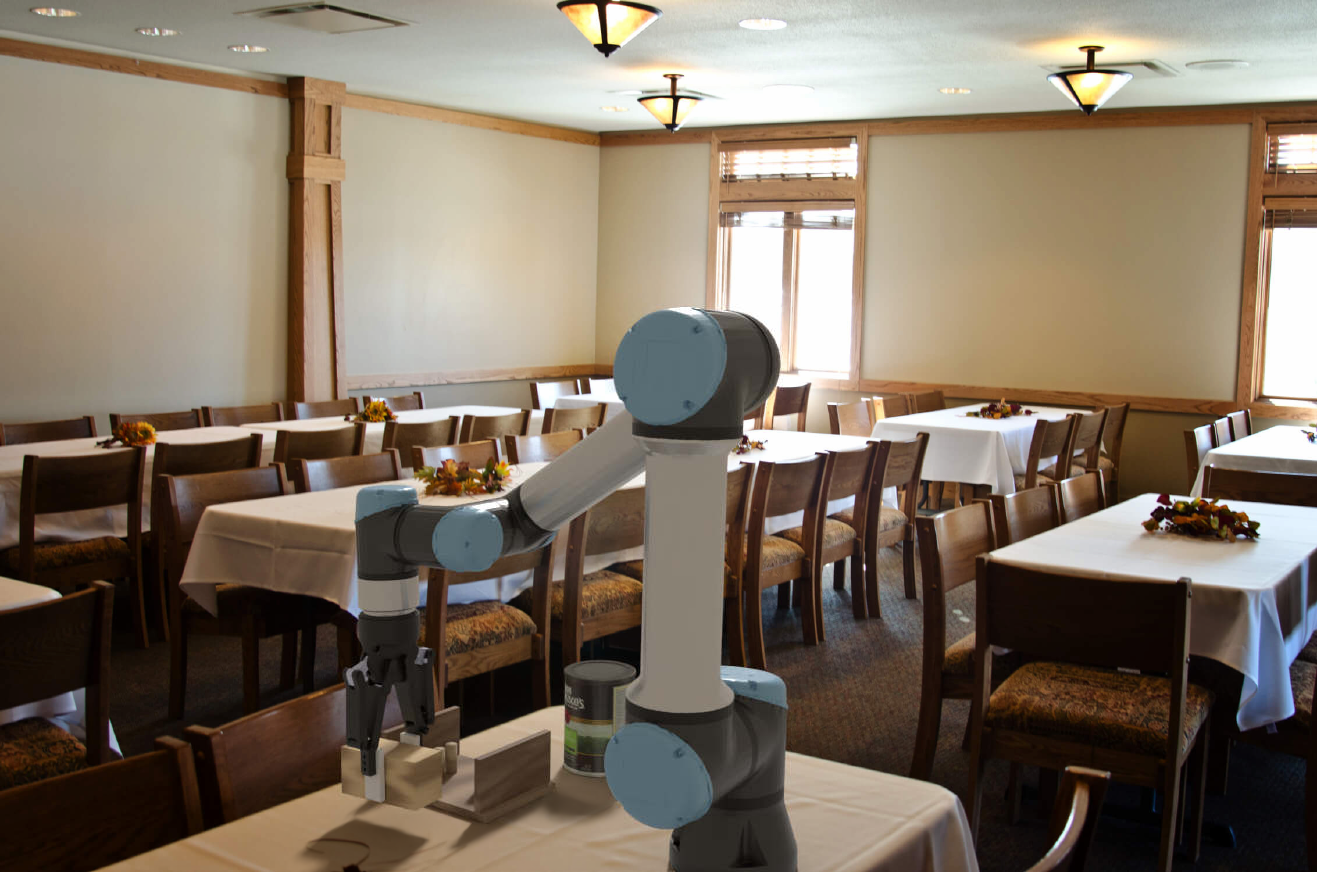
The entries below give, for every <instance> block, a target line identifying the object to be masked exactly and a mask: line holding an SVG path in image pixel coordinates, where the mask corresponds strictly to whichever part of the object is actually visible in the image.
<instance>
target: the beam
mask: <svg viewBox="0 0 1317 872" xmlns="http://www.w3.org/2000/svg"><path fill="white" fill-rule="evenodd" d="M368 739H369V738H368ZM369 740H370V739H369ZM378 748H382V749H384V780H385V801H383V802H379V803H381V804H385V805H389V806H394V807H397V808H401V809H406V810H410V811H413V812H417V811H419V810H420V809H422V808H424V807H427V806H429V804H430V803H432V802H434V801H436V800H438V799H440V798H442V751H440V750H436V749H431V748H426V747H421V746H416V745H411V744H407V743H402V742H397V741H392V740H387V739H382V737H380V740H379V746H378ZM340 750H341V751H340V757H341V758H340V759H341V761H340V762H341V763H340V764H341V765H340V766H341V767H340V768H341V769H340V771H341V775H340V776H341V794H342V795H343V794H344V795H347V796H352V797H355V798H360V799H363V800H368V801H372V802H377V801H374V800H371V799H367V798H365V775H362V772H361V752H360V749H356V748H352V747H348V746H347V745H346V744H344V745H342V746H340Z"/></svg>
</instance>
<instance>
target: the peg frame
mask: <svg viewBox="0 0 1317 872" xmlns="http://www.w3.org/2000/svg"><path fill="white" fill-rule="evenodd" d="M460 708H461V707H460V706H457V705H453V706H451V707H448V708H445V709H442V710H439V711H436V712H435V722H434V724H433V725H428V726H427V727H429V732H428V734H426V735H423V734H422V736H423V744H422V745H423V747H426V748H431V749H436V750H440V751H442V798H440V799H438V800H436V801H434V802H432V803H430V804H428V806H429V805H430V806H433V807H435V808H438V809H442V810H444V811H447V812H450V813H454V814H457V815H460V816H463V817H466V818H469V819H472V820H474V821H477V822H481V823H484V824H487V823H489V822H491V821H493V820H496V819H498V818H500V817H501V816H503V815H506V814H509V813H510V812H513V811H514V810H517V809H519V808H520V807H523V806H525V805H527V804H529V803H530V802H531V803H532V801H534V800H538V799H539V798H541V797H543V796H546V795H548V794H550V793H551V792H554V791H556V790H557V781H553V780H551V767H552V766H551V759H552V758H551V757H552V756H551V755H552V752H551V747H552V746H551V745H552V742H551V741H552V730H550V729H546V728H544V729H542V730H540V731H537V732H535V733H533V734H530V735H528V736H526V737H524V738H521V739H518V740H516V741H513V742H511V743H508V744H507V745H504V746H500V747H498V748H497V749H494V750H492V751H489V752H487V753H484V754H481V755H479V756H477V757H475V758H473V757H470V756H467V755H463V754H461V753H460V750H461V749H460V743H461V742H460V738H461V737H460V736H461V735H460V734H461V733H460V732H461V731H460V729H461V728H460V725H461V722H460V719H461V716H460V715H461V714H460V713H461V709H460ZM403 732H407V733H408V731H407V730H406V729H405V726H404V723H401V724H399V725H396V726H394V727H393V726H392V727H390V728H388V729H385V730H381V738H382V739H387V740H392V741H397V742H400V733H403Z"/></svg>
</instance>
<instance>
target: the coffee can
mask: <svg viewBox="0 0 1317 872" xmlns="http://www.w3.org/2000/svg"><path fill="white" fill-rule="evenodd" d="M563 673H564V674H563V675H564V726H563V727H564V728H563V729H564V731H563V733H564V735H563V738H564V739H563V743H564V744H563V763H562V765H563V768H564V769H565V770H566V771H568V772H569V773H571V774H574V775H577V776H581V777H588V778H606V776H605V770H604V756H605V751H606V748H607V745H608V743H609V741H610V740H611V738H612V737H613V736H614V734H615V733H616V732H617V731H618V730H619V729H620V728H621V727H622V726H625V697H626V689H627V687H628V686H629V685H630V684H631V683H633V682H634V681H635V680H636V673H637V670H636V668H635V667H634V666H632V665H631V664H628V663H625V662H621V661H616V660H607V659H605V660H604V659H594V660H593V659H591V660H581V661H578V662H574V663H571V664H569V665H567V666H566V667H564V669H563Z"/></svg>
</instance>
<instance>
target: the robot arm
mask: <svg viewBox="0 0 1317 872" xmlns="http://www.w3.org/2000/svg"><path fill="white" fill-rule="evenodd" d="M780 353H781V352H780V349H779V345H778V344H777V341H776V338H775V337H774V335H773V334H772V333H771V331H770V330H769V329H768V328H767V326H765V324H763V322H761V321H760V320H759V319H757V318H756V317H754V316H752V315H750V314H747V313H744V312H741V311H737V310H736V311H735V310H728V309H725V310H718V309H709V308H708V309H707V308H702V307H701V308H698V307H689V306H682V307H671V308H663V309H658V310H655V311H652V312H650V313H648V314H646V315H644V316H642V317H641V318H639V319H638V320H637V321H636V322H634V323H633V325H631V327H630V328H628V330H627V331H626V332H625V334H624V335H623V336H622V339H621V340H620V342H619V344H618V346H617V349H616V353H615V355H614V360H613V365H612V367H613V368H612V374H613V375H612V376H613V377H612V378H613V384H614V389H615V392H616V395H617V397H618V399H619V400H620V401H621V402H622V403H623V405H624V409H623V410H622V411H620V412H619V413H618V414H616V415H615V416H613V417H612V418H610V419H609V420H608V421H606V422H605V423H604V424H602V425H601V426H599V427H598V428H596V429H595V430H593V431H592V432H591V433H589V434H588V435H587V436H585V437H584V438H583V439H581V440H580V441H579V442H577V443H575V444H574V445H573V446H572V447H570V448H569V449H567V450H566V451H565V452H563V453H561V454H560V455H559V456H558V457H556V458H555V459H553V460H552V461H550V462H549V463H547V464H546V465H545V466H544V467H543V468H541V469H539V470H538V471H536V472H535V473H534V474H533V475H531V476H529V477H528V478H526V479H525V480H524V482H522V483H521V484H519V485H517V486H516V487H515V488H513V489H512V490H510V491H509V492H508V493H506V494H505V495H502V496H500V497H494V498H490V499H489V498H488V499H484V500H479V501H478V500H477V501H473V502H466V503H461V504H455V505H430V504H429V505H428V504H422V503H421V504H420V503H419V502H420V501H419V500H418V492H417V489H416V487H414V486H412V485H406V484H379V485H370V486H365V487H362V488H361V489H359V491H358V492H357V494H356V497H355V513H354V515H355V517H354V520H353V521H354V525H355V526H354V527H355V540H356V541H355V543H356V544H355V545H356V546H355V547H356V575H357V576H356V579H357V581H356V583H357V607H358V609H359V610H361V611H360V612H359V614H358V615H357V620H358V621H357V624H358V627H357V628H358V630H357V631H358V641H359V642H360V644H361V646H362V652H361V655H360V658H359V662H358V663H356V665H354V666H353V667H352V668H350V667H345V668H343V669H342V671H341V676H342V679H343V681H344V685H345V745H347V746H348V747H352V748H356V749H360V752H361V772H362V775H365V798H367V799H366V800H368V799H371V800H370V801H372V800H374V801H373V802H376V801H377V802H378V803H380V802H383V801H385V780H384V749H382V748H378V746H379V740H380V738H381V735H382V728H383V722H384V717H385V710H386V705H387V699H388V697H389V695H390V694H391V692H392V687H393V686H394V690H395V693H396V698H397V701H398V705H399V709H400V712H401V717H402V721H403V724H404V726H405V729H406V730H407V731H408V733H407V732H403V733H400V742H402V743H407V744H411V745H416V746H421V747H423V745H422V744H423V736H422V734H423V735H426V734H428V732H429V727H427V726H428V725H433V724H434V722H435V713H436V712H435V692H434V691H435V689H434V669H433V667H434V663H435V658H436V650H435V649H434V648H429V647H424V646H419V645H418V644H419V643H418V642H417V641H418V640H419V638H420V637H421V612H420V610H418V609H417V607H418V606H419V605H420V603H421V602H420V579H419V578H420V576H419V574H420V570H419V569H420V568H419V567H424V568H431V569H437V570H438V569H439V570H447V571H451V572H452V571H454V572H456V573H465V572H471V573H472V572H475V573H476V572H483V571H486V570H488V569H490V568H491V567H492V564H493V563H495V562H497V560H499V559H502V558H505V557H509V556H514V555H515V556H516V555H518V554H525V553H532V552H534V551H537V550H538V549H541V548H543V547H546V546H548V545H549V544H551V543H552V542H553V541H554V540H555V539H556V536H557V535H558V532H559V531H560V529H561V528H562V527H564V526H565V525H567V524H568V523H570V522H571V521H573V520H574V519H576V518H578V517H579V516H580V515H581V514H584V513H585V512H586V511H588V510H589V509H590V508H593V506H595V505H596V504H598V503H599V502H602V501H603V500H604V499H606V498H607V497H608V496H610V495H611V494H613V493H614V492H617V490H619V489H621V488H622V487H623V486H625V485H627V484H628V483H630V481H633V480H634V479H635V478H637V477H639V476H640V475H641V474H643V473H644V472H645V475H644V476H645V479H644V480H645V483H644V515H643V517H644V518H643V519H644V520H643V522H644V525H643V553H642V554H643V555H642V556H643V559H642V561H643V562H642V564H643V566H642V595H641V597H642V598H641V599H642V600H641V601H642V602H641V603H642V604H641V607H642V608H641V635H640V636H641V637H640V639H641V642H640V674H639V675H638V677H637V678H635V681H634V682H633V683H631V684H630V685H629V686H628V687H627V689H626V697H625V726H622V727H621V728H620V729H619V730H618V731H617V732H616V733H615V734H614V736H613V737H612V738H611V740H610V741H609V743H608V745H607V748H606V751H605V756H604V770H605V776H606V777H605V780H606V783H607V786H608V787H609V790H610V792H611V793H612V796H613V798H614V799H615V800H616V801H617V802H619V804H621V806H622V807H623V810H624V811H625V813H627V814H628V815H629V816H630V817H631V818H633V819H635V820H636V821H637V822H639V823H641V824H643V825H644V826H647V827H650V828H653V829H658V830H673V831H672V833H671V835H670V840H669V846H668V847H669V848H668V849H669V850H668V851H669V852H668V861H669V865H670V867H671V869H672V870H673V871H674V872H796V871H797V868H798V854H799V853H798V844H797V840H796V838H795V834H794V830H793V826H792V823H791V820H790V817H789V813H788V810H787V807H786V803H785V776H786V750H787V749H786V748H787V746H786V745H787V743H786V742H787V720H788V719H787V718H788V710H789V705H788V703H787V702H788V701H787V700H788V699H787V687H786V683H785V682H784V681H783V679H782V678H781V677H780V676H778V675H777V674H774V673H771V672H768V671H765V670H760V669H754V668H748V667H742V666H733V665H731V666H729V665H722V639H723V638H722V637H723V615H724V614H723V613H724V610H723V609H724V587H725V585H724V580H725V550H726V524H727V523H726V522H727V521H726V520H727V496H728V495H727V491H728V490H727V489H728V466H729V465H728V463H729V462H728V461H729V460H728V458H729V455H730V453H731V452H732V451H733V450H734V449H735V448H736V447H738V446H739V445H740V443H741V442H743V440H744V422H745V421H744V420H745V419H744V417H745V416H747V415H748V414H750V413H752V412H753V411H755V410H756V409H758V408H759V407H761V406H762V405H763V404H764V403H765V402H766V401H767V400H768V399H769V398H770V396H771V395H772V394H773V391H774V390H775V388H776V387H777V384H778V381H779V379H780V373H781V365H782V364H781V363H782V362H781V354H780ZM368 738H369V739H370V740H369V739H368Z"/></svg>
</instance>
